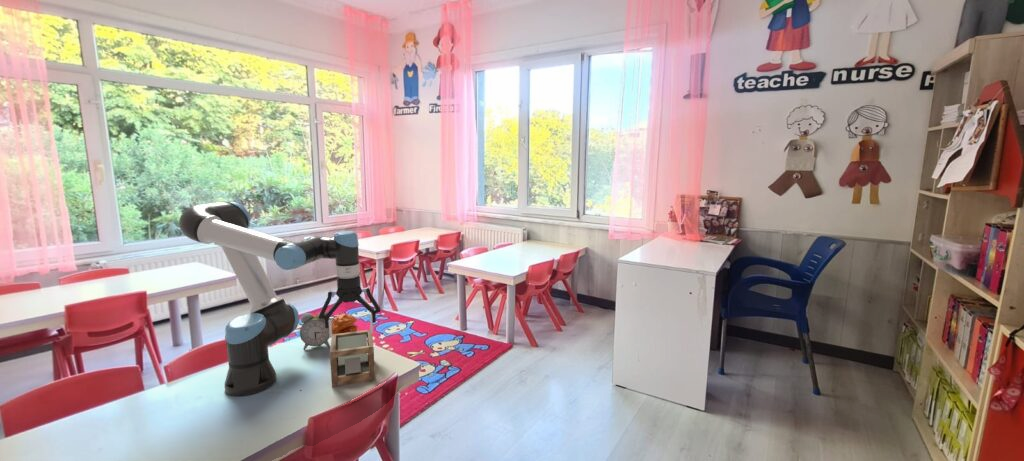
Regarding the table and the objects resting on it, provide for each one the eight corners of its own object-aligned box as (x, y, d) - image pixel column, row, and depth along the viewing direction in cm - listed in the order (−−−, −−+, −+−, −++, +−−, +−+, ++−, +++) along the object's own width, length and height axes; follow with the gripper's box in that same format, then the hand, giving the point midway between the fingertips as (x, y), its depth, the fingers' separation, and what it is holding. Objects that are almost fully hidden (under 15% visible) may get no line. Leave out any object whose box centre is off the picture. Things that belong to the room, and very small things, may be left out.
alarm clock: (300, 351, 171) (297, 316, 169) (304, 344, 178) (301, 310, 175) (331, 348, 174) (329, 313, 172) (334, 342, 181) (332, 308, 178)
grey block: (345, 362, 153) (344, 359, 148) (360, 360, 155) (360, 357, 150) (346, 376, 151) (345, 374, 146) (361, 374, 153) (360, 371, 148)
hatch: (337, 366, 153) (337, 365, 152) (337, 337, 157) (337, 337, 157) (368, 361, 156) (368, 360, 155) (367, 334, 161) (367, 333, 160)
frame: (331, 387, 145) (329, 352, 143) (334, 365, 160) (331, 334, 158) (375, 380, 150) (373, 346, 148) (373, 360, 165) (371, 329, 163)
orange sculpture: (354, 363, 162) (351, 318, 159) (325, 362, 162) (322, 317, 159) (364, 350, 173) (362, 307, 170) (338, 349, 173) (335, 307, 170)
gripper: (307, 281, 141) (312, 342, 144) (386, 275, 149) (388, 333, 153) (309, 276, 148) (314, 334, 151) (385, 270, 156) (387, 325, 160)
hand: (351, 333), depth 152 cm, fingers open, 13 cm apart
